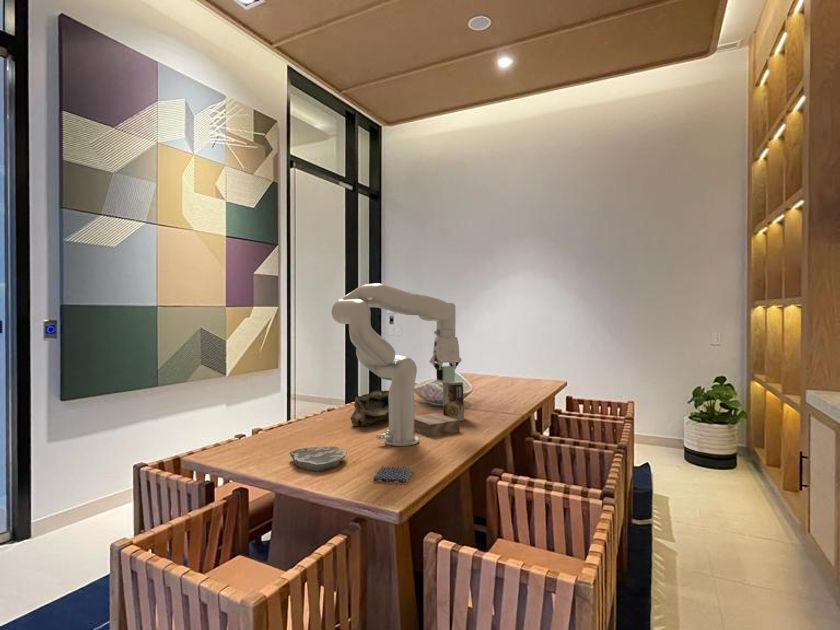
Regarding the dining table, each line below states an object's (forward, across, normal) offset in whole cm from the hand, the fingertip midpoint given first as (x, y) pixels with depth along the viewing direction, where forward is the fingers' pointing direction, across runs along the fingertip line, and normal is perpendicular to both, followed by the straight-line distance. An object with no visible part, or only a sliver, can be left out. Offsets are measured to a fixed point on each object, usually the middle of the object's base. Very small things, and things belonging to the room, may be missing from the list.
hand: (445, 378), depth 193 cm
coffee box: (+21, +15, +16) cm, 31 cm away
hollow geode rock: (+22, -15, +31) cm, 41 cm away
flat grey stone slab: (+23, -55, -10) cm, 61 cm away
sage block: (+1, 0, 0) cm, 1 cm away
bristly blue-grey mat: (+23, -42, -36) cm, 60 cm away
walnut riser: (+22, -2, +5) cm, 22 cm away
